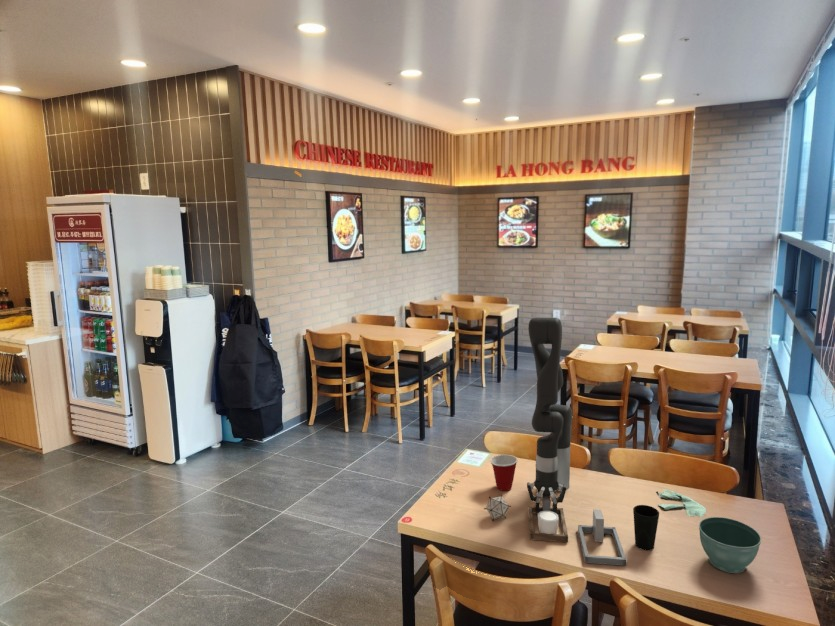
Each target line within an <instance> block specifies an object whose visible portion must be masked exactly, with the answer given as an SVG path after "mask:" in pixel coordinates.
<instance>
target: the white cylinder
mask: <svg viewBox="0 0 835 626" xmlns="http://www.w3.org/2000/svg"><path fill="white" fill-rule="evenodd" d="M559 517H560V516H559V515H557V514H556V513H554V512H551V511H541V512H539V513H537V522H538V523H537V524H538V533H546V534H558V527H559V526H558V525H559Z"/></svg>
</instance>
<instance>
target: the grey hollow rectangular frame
mask: <svg viewBox="0 0 835 626" xmlns="http://www.w3.org/2000/svg"><path fill="white" fill-rule="evenodd" d="M577 533H578V538H579V541H580V545H581V551H582V554H583V560H584V563H586V564H597V565H599V564H600V565H612V566H623V567H626V566H627V557H626V555H625V551H624V548H623V545H622V543H621V540H620V537H619V534H618V531H617V528H616V527H615V526H605V518H604V515H603V512H602V509H597V508H594V509H592V525H587V524H585V525H584V524H577ZM584 533H586V534H587V533H589V534H593V539H594V542H595V543H596V542H597V543H600V542H601V543H604V535H605V534H606V535H612V537H613V539H614V543H615V546H616V549H617V553H618V555H619V557H618V556H605V555H593V554H589V553H588V548H587V544H586V543H587V542H586V540H585V537H584Z"/></svg>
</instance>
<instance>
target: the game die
mask: <svg viewBox="0 0 835 626" xmlns="http://www.w3.org/2000/svg"><path fill="white" fill-rule="evenodd" d="M488 498H489V500H488V503H487V505H486V507H484V508H483V510H486V511H487V512H488V514H489V515H490V516H491V518H492V522H494V521H495V519H500V518H501V519H502V518H504V519H507V517H506V515H507V513H508V510H509V508H511V507H512V505H509V504H508V503H507V501H506V500H505V499H504V497H503V493H501V494H500V495H499V496H496V497H491V496H488Z"/></svg>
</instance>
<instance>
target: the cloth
mask: <svg viewBox="0 0 835 626" xmlns="http://www.w3.org/2000/svg"><path fill="white" fill-rule="evenodd" d="M662 491H663V492H662V493H661V492H659V491H656V492H655V493H657V494H658V496H659V498H660V499H666V500H672V499H673V500H675V501H677V500H682V501H681V503H682V504H676V503H667V504H666V503H659V504H658V505H657V507H661V509H662V510H664V512H665V511H670V510H679V509H685V511H686V513H685V514H686V515H687V516H689V517H699V518H703V517H704V516H705V515H706V512H707V509H706V507H704V506H703V505H702V504H700V503H698V502H697V501H695V500H694V499H692V498H691V497H689V496H687V495H683V494H681V493H678V492H676V491H674V490H670V489H666V488H662ZM670 493H672V494H670Z"/></svg>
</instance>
